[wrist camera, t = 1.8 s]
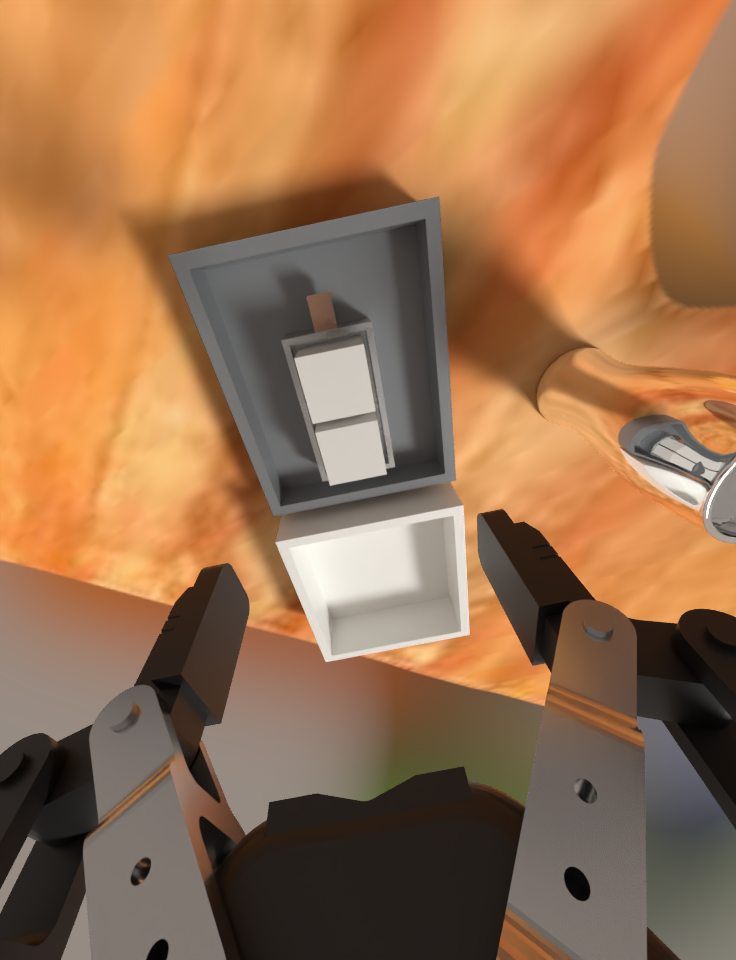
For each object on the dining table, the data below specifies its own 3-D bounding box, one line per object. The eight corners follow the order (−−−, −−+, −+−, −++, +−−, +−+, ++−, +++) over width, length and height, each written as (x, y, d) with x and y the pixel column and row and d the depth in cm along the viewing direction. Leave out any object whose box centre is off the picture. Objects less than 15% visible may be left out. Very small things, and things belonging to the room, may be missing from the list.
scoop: (276, 301, 22) (270, 304, 20) (362, 283, 22) (365, 283, 20) (323, 466, 28) (322, 481, 26) (390, 452, 28) (395, 466, 26)
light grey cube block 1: (300, 346, 23) (294, 358, 19) (359, 333, 23) (363, 343, 19) (315, 403, 25) (312, 424, 21) (370, 392, 25) (375, 411, 21)
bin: (283, 505, 31) (275, 542, 26) (445, 472, 30) (463, 505, 26) (326, 619, 39) (325, 662, 35) (454, 594, 39) (469, 634, 34)
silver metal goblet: (563, 326, 25) (807, 379, 12) (636, 358, 27) (920, 433, 14) (513, 414, 28) (665, 530, 15) (581, 437, 30) (770, 560, 17)
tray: (190, 258, 21) (167, 255, 18) (425, 207, 21) (439, 196, 18) (279, 494, 30) (273, 516, 27) (444, 461, 30) (455, 480, 27)
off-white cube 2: (317, 411, 25) (315, 432, 22) (371, 400, 25) (377, 420, 22) (330, 459, 27) (330, 485, 24) (380, 449, 27) (387, 474, 24)
